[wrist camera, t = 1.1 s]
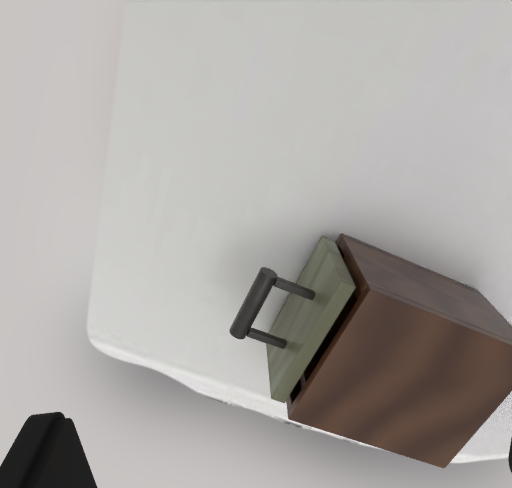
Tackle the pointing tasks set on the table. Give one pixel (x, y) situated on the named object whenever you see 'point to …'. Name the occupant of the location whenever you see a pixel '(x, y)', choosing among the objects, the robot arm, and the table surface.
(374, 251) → the cabinet
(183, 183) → the table surface
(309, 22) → the table surface
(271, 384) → the drawer
